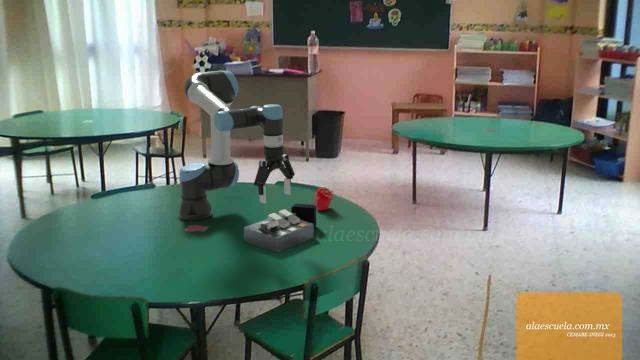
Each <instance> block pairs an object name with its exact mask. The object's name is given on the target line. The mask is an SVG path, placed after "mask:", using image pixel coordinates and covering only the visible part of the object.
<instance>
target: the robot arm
mask: <svg viewBox="0 0 640 360" xmlns="http://www.w3.org/2000/svg"><path fill="white" fill-rule="evenodd" d="M183 93H184V94H185V97H186V98H187V100H188V101H189V102H191V103H192V104H195V105H198V106H199V107H200V108H201V109H203V110H204V111H205V112H206V113H207V114H208V115H209V116H210V145H211V146H210V147H211V148H210V149H211V151H210V152H211V153H210V154H211V156H210V157H209V158H208V160H207V165H206V164H205V163H203V162H194V163H188V164H185V165H184V166H182V167H181V168H180V169H179V177H178V179H179V187H180V203H179V208H178V211H177V212H178V213H177V216H178V218H179V219H180V220H184V221H201V220H205V219H208V218H210V217H212V215H213V208H212V206H211V203H210V201H209V198H208V192H211V191H216V190H222V189H228V188H231V187H234V186H236V184H237V183H238V181H239V178H240V177H239V176H240V169H239V165H238V164H237V162H236V161H235V160H234V158H233V157H232V156H231V131H235V130H236V131H237V130H242V129H250V128H258V127H259V128H262V133H263V156H264V158H265V160H259V162H258V168H257V173H256V175H255V178H254V182H253V186H255V187H257V189H258V192H257V193H258V195H259V202H260V203H261V204H267V189H266V186H265V184H266V183H267V180H268V179H269V177H270V175H271V173H272V172H273V171H276V170H279V171H280V173H281V174H282V175H283V176H284V178H283V185H284V186H283V190H284V191H283V192H284V193H283V194H284V195H287V196H291V195H292V193H291V186H292V180H293V179H294V176H295V175H296V174H295V171H294V169H293V166H292V164H291V162H290V158H289V155H288V154H285V153H284V152H285V150H284V118H283V117H284V115H283V107H282V106H281V105H280V104H275V103H274V104H273V103H271V104H270V103H269V104H264V105H263V106H261V105H253V106H250V107H247V108H238V109H233V108H232V107H231V105H232V104H233V103H234V98H235V97H237V96H238V94H239V84H238V80H237V78H236V76H235V75H234V73H233V72H232V71H230V70H213V71H205V72H204V71H203V72H202V71H201V72H200V71H199V72H196V73H193V74H191V75H190V76H189V77H188V78H187V79H186V80H185V83H184V84H183Z"/></svg>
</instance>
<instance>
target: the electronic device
mask: <svg viewBox="0 0 640 360" xmlns="http://www.w3.org/2000/svg"><path fill="white" fill-rule="evenodd" d="M290 210H291V212H290V213H295V214H296V216H297V217H298V218H300V220H302V221H306V222H309V223H312V224H314V230H315V228H316V227H317V208H316V205H315V204H307V203H294V204H292V205H291V208H290Z"/></svg>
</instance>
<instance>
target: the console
mask: <svg viewBox="0 0 640 360" xmlns="http://www.w3.org/2000/svg"><path fill="white" fill-rule="evenodd" d="M292 214H293V215H295V216H296V214H295V213H292ZM279 216H280V215H279ZM280 217H282V218H284V219H285V220H287V221H288V217H287V216H284V215H283V216H280ZM268 221H277V220H274V219H272V220H270V219H268V218H266V219H263V220H260V221H257V222H254V223H251V224H250V225H246V226H244V227H243V237H244V239H243V241H244V242H246V243H249V244H250V245H254V246H258V247H260V248H263V249H266V250H268V251H271V252H274V253H277V254H278V253H281V252H283V251H285V250H287V249H290V248H293V247H295V246H297V245H300V244H302V243H304V242H307V241H309V240H312V239H314V238H313V237H315V236H314V234H315V233H314V232H315V229H314V224H312V223H309V222H306V221H302V220H300V221H299V223H296V224H292V223H291V222H289V221H288V222H289V223H290V224H289V226H288V227H286V228H282V227H280V226H279V225H278V226H275V227H266V224H263V223H262V224H261V228H258V225H257V224H258V223H261V222H268Z"/></svg>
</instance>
